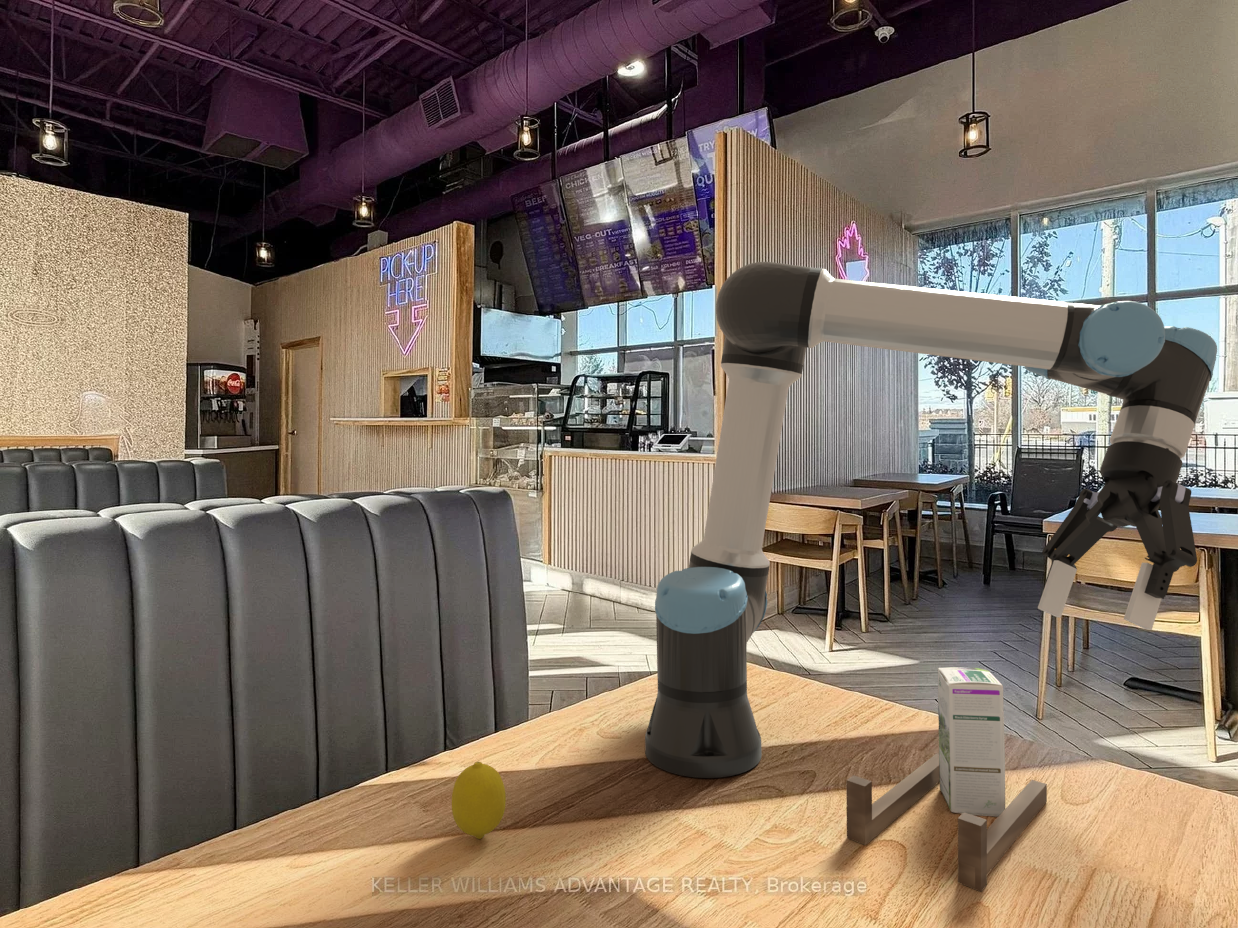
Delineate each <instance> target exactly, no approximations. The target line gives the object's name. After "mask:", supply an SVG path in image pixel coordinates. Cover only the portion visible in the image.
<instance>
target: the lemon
mask: <svg viewBox="0 0 1238 928" xmlns="http://www.w3.org/2000/svg"><path fill="white" fill-rule="evenodd" d="M506 795H507V794H506V788H505V784H504V781H503V778H502V776H501V775H500V773H499V772H498V770H496V769H495V768H494V767H493V766H491V765H489V764H486V763H482V761H475V762H474V763H473V764H472V765H469V766H467V767H466V768H464V769H463V770H462V771H461V772H460V773H459V775H458V776H457V778H456V780H455V782H454V784H453V787H452V793H451V813H452V816H453V820H454V822H455V823H456V826H457V827H458V828H459V829H460V830H461V831H462V832H463V833H465V834H467V835H469V836H473V837H475V839H478V840H481V839H483V838H484V837H485V836H486V835H488V834H489V833H491V832H493V830H495V829H496V828H497V827H498V826H499V824H500V823H501V820H502V819H503V817H504V814H505V811H506V803H507V802H506V801H507V796H506Z"/></svg>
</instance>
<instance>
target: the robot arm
mask: <svg viewBox="0 0 1238 928" xmlns="http://www.w3.org/2000/svg"><path fill="white" fill-rule="evenodd" d="M715 315H716V321H717V324H718V326H719V329H720V330H721V332H722V333H723V336H724V342H723V346H722V348H723V349H722V355H721V360H720V367H721V369H722V370H723V371H724V373H725V375H726V376H727V378H728V383H727V384H728V385H727V389H726V390H727V391H726V397H725V401H724V402H725V403H724V407H723V408H724V410H723V416H722V423H721V427H720V432H719V433H720V434H719V439H718V440H719V441H718V445H717V446H718V447H717V452H716V459H715V464H714V471H713V478H712V484H711V488H710V489H711V490H710V497H709V504H708V508H707V509H708V510H707V514H706V515H707V516H706V521H705V528H704V534H703V538H702V540H701V541H699V542H698V543H697V544H695V545H694V546H693V547H691V551H690V558H689V561H688V562H689V563H688V567H686V568H683V569H681V570H674V571H672V572H670V573H667V574H666V575H664V576H663V577H662V578H661V579H660V580H659V582H658V585H657V587H656V597H655V602H654V611H655V614H656V615H655V617H656V621H655V622H656V623H655V625H656V667H657V669H656V670H657V671H656V673H657V677H656V678H657V695H656V697H655V702H654V705H653V708H652V712H651V714H650V719H649V722H648V726H647V727H646V731H645V735H644V736H645V737H644V748H645V749H644V754H645V756H646V758H647V760H648V761H649V762H650V763H652V765H654V766H655V767H657V768H658V769H661V770H662V771H666V772H667V773H671V774H674V775H679V776H684V777H691V778H700V779H715V778H716V779H717V778H726V777H731V776H732V777H733V776H735V775H740V774H742V773H746V772H747V771H750V770H752V769H753V768H755V767H756V766H757V765H758V764H760V761H761V760H762V737H761V734H760V731H759V729H758V727H757V723H756V720H755V716H754V713H753V710H752V707H751V704H750V700H749V698H748V676H747V675H748V670H747V669H748V667H747V666H748V665H747V663H748V662H747V659H748V658H747V654H748V653H747V652H748V651H747V647H748V646H747V645H748V642H749V640H750V638H751V637H752V635H753V634H754V633H755V632H756V631H757V629H758V628H759V627H760V625H761V624H762V621H763V620H764V618H765V615H766V612H767V609H768V608H767V607H768V593H767V584H768V583H767V582H768V578H769V572H770V571H769V570H770V567H771V566H770V565H771V562H770V560H769V559H768V557H767V556H766V555H765V553H764V552H763V542H764V537H765V532H766V531H765V530H766V525H767V520H768V519H767V518H768V513H769V506H770V500H771V495H772V489H773V484H774V483H773V482H774V478H775V472H776V471H775V470H776V465H777V459H778V454H779V447H780V441H781V435H782V429H783V424H784V418H785V417H784V416H785V411H786V405H787V401H788V400H787V399H788V393H789V388H790V387H791V386H792V385H793V384H794V383H795V382H797V381H798V380H799V379H801V378H802V375H803V370H804V369H803V368H804V366H805V365H804V364H805V358H806V352H807V348H808V349H813V348H814V347H816V346H817V345H819V344H820V343H822V342H826V343H834V344H841V345H851V346H858V347H866V348H874V349H875V348H876V349H880V350H881V349H882V350H888V351H889V350H890V351H896V352H897V351H899V352H906V353H912V354H913V353H914V354H921V355H922V354H923V355H929V356H930V355H932V356H939V357H946V358H953V359H961V360H962V359H964V360H970V361H980V362H988V363H995V364H1003V365H1011V366H1019V367H1024V368H1025V370H1027V372H1030V373H1033V374H1035V375H1040V376H1041V377H1044V378H1045V379H1046V380H1049V381H1050V380H1054V381H1058V382H1061V383H1065V384H1068V385H1072V386H1075V387H1079V388H1083V389H1086V390H1090V391H1094V392H1097V393H1100V394H1104V395H1107V396H1109V397H1112V398H1116V399H1121V400H1122V405H1121V407H1120V410H1119V413H1118V416H1117V418H1116V421H1115V424H1114V427H1113V429H1112V433H1111V435H1110V437H1109V442H1110V445H1108V447H1107V448H1106V451H1105V453H1104V457H1103V459H1102V462H1101V466H1100V469H1099V472H1100V475H1101V476H1102V478H1103V480H1104V485H1103V487H1102V488H1101V490H1100V491H1098V492H1095V491H1092V490H1091V489H1087V488H1084V489H1082V490H1081V491H1080V493H1079V496H1078V498H1077V500H1076V502H1075V505H1074V506H1073V507H1072V509H1071V510H1070V512H1069V513H1068V514H1067V515H1066V517H1065V519H1064V520H1063V521H1062V523H1061V524H1060V525H1059V527H1058V528H1057V529H1056V531H1055V532H1054V534H1053V535H1052V536H1051V538H1050V539H1049V541H1048V542H1047V543H1046V545H1045V546H1044V547H1043V549H1042V553H1041V554H1042V555H1043V556H1045V557H1046V558H1048V559H1050V560H1051V564H1050V568H1049V569H1048V574H1047V576H1046V578H1045V582H1044V583H1045V585H1044V589H1043V590H1042V594H1041V597H1040V600H1039V603H1038V604H1037V605H1038V606H1037V609H1038V610H1040V611H1042V612H1044V613H1047V614H1049V615H1051V616H1053V617H1055V618H1060V619H1062V616H1063V612H1064V609H1065V606H1066V604H1067V601H1068V597H1069V595H1070V591H1071V589H1072V586H1073V582H1074V580H1075V576H1076V574H1077V571H1078V567H1077V566H1076V563H1077V562H1079V560H1081V559H1082V557H1083V556H1084V555H1086V553H1087V552H1088V551H1090V550H1091V549H1092V548H1093V547H1094V545H1096V544H1097V543H1098V542H1099V541H1100V540H1101V539H1102V538H1103V537H1104V536H1105V535H1106V534H1107V533H1109V532H1111V533H1112V532H1115V530H1116V529H1118V528H1125V527H1128V526H1131V527H1134V528H1135V527H1136V529H1137V532H1138V535H1139V537H1140V540H1141V542H1142V545H1143V546H1144V548H1145V551H1146V553H1147V554H1146V557H1144V560H1146V561H1149V562H1150V563H1149V562H1141V564H1140V568H1139V570H1138V573H1137V577H1136V580H1135V583H1134V585H1133V589H1132V593H1131V595H1130V598H1129V601H1128V605H1127V607H1126V611H1125V614H1124V617H1123V620H1125V621H1127V622H1129V623H1131V624H1133V625H1135V626H1137V627H1140V628H1142V629H1145V630H1148V631H1152V630H1153V627H1154V624H1155V621H1156V618H1157V614H1158V611H1159V608H1160V606H1161V603H1162V599H1165V597H1166V596H1167V594H1168V591H1169V588H1170V585H1171V581H1172V579H1173V575H1174V574H1175V572H1178V571H1179V570H1180V568H1181V567H1184V566H1185V567H1186V566H1187V567H1188V568H1192V567H1194V566H1196V564H1197V562H1198V557H1197V556H1198V555H1197V550H1196V544H1195V537H1194V532H1193V526H1192V520H1191V514H1190V508H1189V507H1190V506H1189V505H1190V500H1191V496H1192V489H1190V488H1188V487H1186V486H1184V485H1182V484H1180V483H1178V478H1179V476H1180V473H1181V471H1182V466H1183V461H1182V459H1183V458H1184V457H1185V456H1186V453H1187V450H1188V447H1189V443H1190V440H1191V437H1192V434H1193V432H1194V428H1195V424H1196V422H1197V419H1198V415H1199V413H1200V410H1201V406H1202V404H1203V401H1204V398H1205V396H1206V393H1207V391H1208V387H1209V385H1210V382H1211V381H1212V379H1213V376H1214V369H1215V364H1216V360H1217V354H1218V345H1217V342H1216V341H1215V339H1214V338H1213V337H1212V336H1211V335H1209V334H1207V333H1206V332H1204V331H1202V330H1200V329H1196V328H1194V327H1190V326H1189V327H1188V326H1184V327H1176V326H1174V325H1169V326H1168V325H1167V326H1165V325H1164V322H1163V320H1162V318H1161V316H1160V314H1158V312H1156V311H1155V310H1154V309H1153V308H1151V307H1150V306H1148V305H1146V304H1145V303H1141V302H1137V301H1134V300H1133V301H1132V300H1122V301H1113V302H1107V303H1106V304H1103V305H1097V304H1087V303H1077V302H1074V303H1073V302H1066V301H1058V300H1049V299H1039V298H1028V297H1019V296H1009V295H999V294H988V293H978V292H969V291H959V290H949V289H938V288H929V287H922V286H921V287H919V286H912V285H901V284H894V283H893V284H892V283H891V284H890V283H883V282H871V281H861V280H852V279H842V278H834V277H833V276H832V275H831V273H829V271H828V270H827V269H826V268H823V267H822V268H820V267H810V266H804V265H803V266H802V265H794V264H788V263H780V262H774V261H773V262H772V261H757V262H752V263H748V264H745V265H744V266H742V267H739V268H738V269H736V270H735V271H734V272H732V273H731V274H730V275H729V276H728V277H727V279H726V280H725V281H724V282H723V284H722V285H721V287H720V289H719V292H718V294H717V298H716V304H715ZM1159 508H1160V509H1159ZM1159 510H1160V511H1159ZM1100 514H1101V516H1100ZM1151 563H1153V564H1151Z"/></svg>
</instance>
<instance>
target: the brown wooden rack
mask: <svg viewBox="0 0 1238 928" xmlns="http://www.w3.org/2000/svg"><path fill="white" fill-rule="evenodd" d="M845 782H846V784H845V785H846V789H845V790H846V838H847V839H849V840H851V841H853V842H856V843H859V844H861V845H863V846H866V845H868V844H869V843H870V842H871V841H872V840H873V839H874V838H876V837H877V836H878V835H879V834H880V833H882V831H884V830H885V829H886V828H887V827H889V826H890V825H891V824H892V823H893V822H894V821H896V819H898V818H899V817H900V816H902V814H903V813H905V812H906V811H907V810H908V809H909V808H911V807H912V806H913V805H914V804H915V803H917V802H918V800H919V799H921V798H922V797H924V795H926V794H927V793H928V792H929V791H930V790H931V789H932V788H934V787H935V786H936V785H937V784H938V783H940V777H939V752H936V753H935V754H933V756H931V757H930V758H929V759H928V760H926V761H925V762H924V763H922V764H921V765H919V767H917V768H916V769H915V770H914V771H912V772H911V773H910V774H909V775H907V776H906V777H904V778H903V779H901V781H899V782H898V783H897V784H895V785H894V786H893V787H892V788H890V789H889V790H888V791H887V792H885V793H884V794H883V795H881V796H880V797H879V798H878V799H877V800H876V801H874V802H873V781H872V780H870V779H866V778H863V777H860V776H857V775H854V774H853V775H852V776H850V777H849V778H848V779H847V778H846V780H845ZM1047 790H1048V784H1047V783H1044V782H1042V781H1038V780H1036V779H1035V780H1034V779H1031V780H1030V781H1029V782H1028V783H1027V784H1026V785H1025V787H1024V788H1023V789H1022V790H1021V791H1020V792H1019V793H1018V794H1017V796H1015V798H1013V800H1012V801H1011V802H1010V803H1009V804H1008V805H1007V807H1005V810H1004V811H1003V812H1002V813H1001V814H1000V815H999V816H997V817H996V819H995V820H994V821H993V822H992V823H991V824H990V825H989V827H988V820H987V819H986V818H982V817H979V816H978V815H971V814H968V813H965V812H964V813H963V814H960V816H958V818H957V882H958V884H960V885H963V886H965V887H968V888H971V889H973V890H975V891H978V892H980V893H982V891H984V889H985V887H986V886H987V885H988V874H989V873H990V872H991V871H992V870H993V868H994V867H995V866H996V865H997V863H998V862H999V861H1000V860H1001V858H1002V857H1003V856H1004V855H1005V854H1006V852H1007V851H1009V849H1010V847H1012V845H1013V844H1014V843H1015V842H1016V840H1017V839H1018V838H1019V836H1020V835H1021V834H1022V833H1023V831H1024V830H1025V829H1026V827H1028V825H1029V824H1030V823H1031V822H1032V820H1033V819H1034V818H1035V817H1036V815H1037V814H1038V813H1039V812H1040V811H1041V809H1042V808H1043V807H1044V806H1045V804H1046V803H1047V802H1048V801H1047V800H1048V796H1047V794H1048V793H1047V792H1048V791H1047Z"/></svg>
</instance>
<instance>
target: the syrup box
mask: <svg viewBox="0 0 1238 928" xmlns="http://www.w3.org/2000/svg"><path fill="white" fill-rule="evenodd" d="M937 705H938V706H937V709H938V711H937V713H938V714H937V715H938V753H939V777H940V782H939V790H940V792H941V794H942V796H943V798H944V801H945V802H946V804H947V806H948V809H949V810H950V811H949V812H951V813H956V814H960V815H962V814H963V813H964V812H965V813H968V814H971V815H974V816H981V817H982V816H985V817H998V816H999V815H1000V814H1001V813H1002V812H1003V811H1004V810H1005V809H1006V753H1005V751H1006V750H1005V714H1004V710H1005V709H1004V686H1003V684H1002V683H1001V682H1000V681H999V679H997V678H996V677H995V675H994V674H992V673H991V671H990V670H989V669H986V668H978V667H966V666H962V667H960V666H958V667H957V666H952V667H950V666H949V667H938V668H937Z"/></svg>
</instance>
